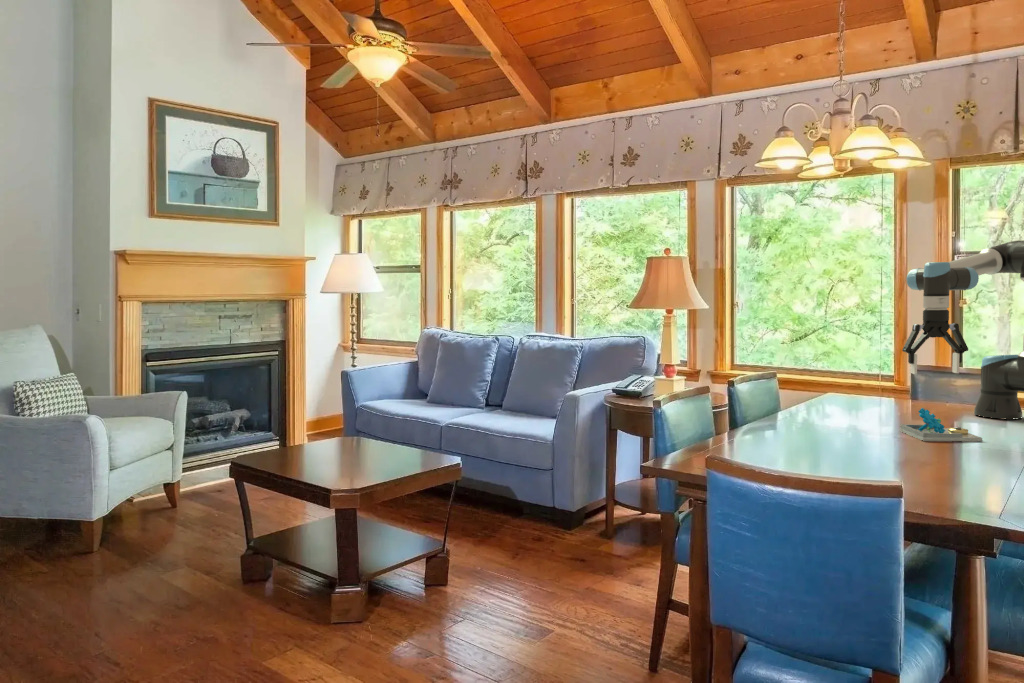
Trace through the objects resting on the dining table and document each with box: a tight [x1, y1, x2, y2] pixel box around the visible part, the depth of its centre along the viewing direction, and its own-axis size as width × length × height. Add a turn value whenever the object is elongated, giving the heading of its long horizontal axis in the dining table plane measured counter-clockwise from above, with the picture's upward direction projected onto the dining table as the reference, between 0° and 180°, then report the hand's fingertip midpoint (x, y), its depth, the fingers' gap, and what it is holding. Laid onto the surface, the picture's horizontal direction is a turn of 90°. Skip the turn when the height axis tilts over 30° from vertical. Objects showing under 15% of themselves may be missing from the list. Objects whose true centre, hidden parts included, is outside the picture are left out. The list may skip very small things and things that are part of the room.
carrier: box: [899, 423, 983, 443], centre depth 246 cm, size 18×16×3 cm
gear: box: [918, 407, 945, 433], centre depth 248 cm, size 11×6×10 cm
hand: (934, 373), depth 252 cm, fingers open, 13 cm apart
